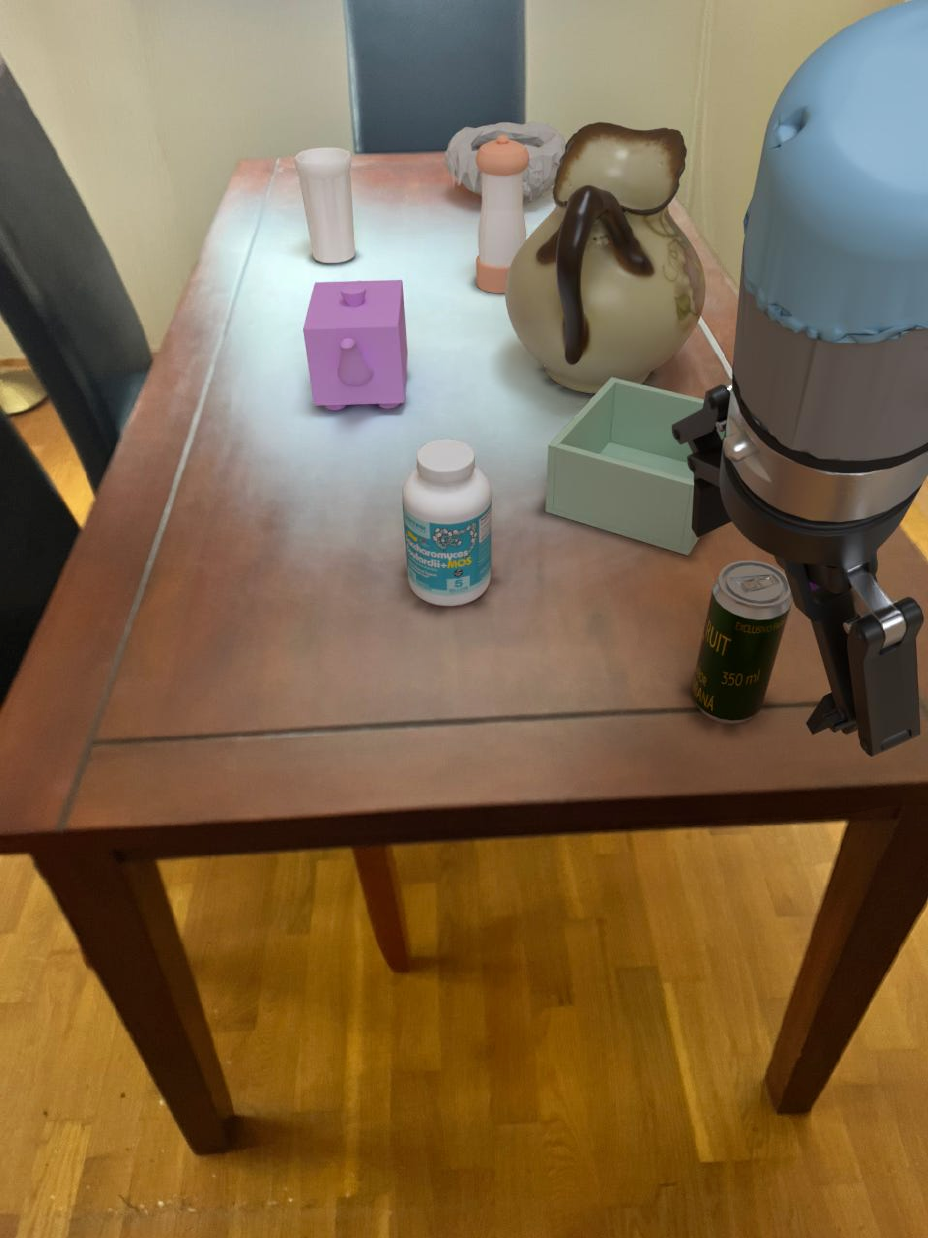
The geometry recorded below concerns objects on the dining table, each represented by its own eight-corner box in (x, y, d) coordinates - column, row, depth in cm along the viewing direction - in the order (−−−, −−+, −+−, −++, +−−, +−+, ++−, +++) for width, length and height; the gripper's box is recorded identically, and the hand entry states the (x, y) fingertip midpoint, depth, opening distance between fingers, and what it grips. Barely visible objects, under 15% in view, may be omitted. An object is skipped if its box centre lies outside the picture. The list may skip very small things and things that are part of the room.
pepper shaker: (524, 295, 128) (527, 144, 115) (472, 292, 129) (469, 143, 116) (530, 274, 133) (534, 128, 120) (480, 271, 134) (479, 126, 121)
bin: (737, 476, 94) (751, 410, 89) (688, 556, 85) (700, 487, 80) (605, 441, 100) (611, 376, 95) (545, 511, 91) (548, 444, 85)
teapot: (328, 358, 115) (314, 257, 107) (409, 355, 115) (402, 255, 107) (310, 444, 101) (293, 335, 92) (403, 441, 101) (395, 332, 92)
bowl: (593, 201, 155) (598, 136, 148) (491, 227, 147) (490, 160, 140) (522, 170, 168) (523, 108, 161) (425, 192, 160) (422, 129, 153)
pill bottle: (396, 600, 81) (383, 470, 72) (425, 550, 86) (417, 423, 77) (476, 618, 79) (474, 486, 70) (502, 565, 85) (503, 437, 75)
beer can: (741, 670, 74) (771, 552, 66) (774, 719, 70) (810, 600, 62) (678, 683, 73) (701, 565, 65) (708, 733, 69) (736, 614, 61)
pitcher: (639, 318, 122) (662, 106, 105) (733, 402, 105) (779, 168, 88) (479, 346, 117) (476, 129, 100) (551, 440, 100) (562, 199, 83)
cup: (340, 271, 135) (328, 167, 126) (296, 262, 139) (281, 159, 129) (371, 252, 141) (362, 151, 131) (328, 243, 144) (316, 143, 134)
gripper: (592, 251, 40) (618, 477, 59) (922, 782, 30) (822, 841, 50) (753, 171, 39) (725, 425, 59) (1137, 685, 30) (951, 783, 50)
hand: (770, 616), depth 55 cm, fingers open, 13 cm apart
